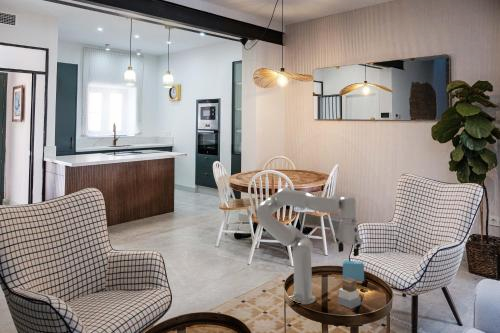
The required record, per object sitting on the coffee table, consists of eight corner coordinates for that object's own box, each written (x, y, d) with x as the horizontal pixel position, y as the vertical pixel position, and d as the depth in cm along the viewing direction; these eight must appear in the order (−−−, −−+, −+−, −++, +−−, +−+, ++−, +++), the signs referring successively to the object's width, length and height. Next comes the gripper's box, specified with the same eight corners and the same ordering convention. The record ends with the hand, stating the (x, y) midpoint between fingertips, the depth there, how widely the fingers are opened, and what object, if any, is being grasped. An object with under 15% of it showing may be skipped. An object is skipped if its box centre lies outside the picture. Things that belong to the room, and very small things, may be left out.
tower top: (349, 300, 189) (349, 293, 188) (339, 296, 194) (339, 289, 194) (358, 297, 192) (358, 289, 192) (348, 293, 198) (348, 285, 198)
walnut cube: (350, 292, 189) (350, 282, 189) (342, 289, 193) (342, 280, 193) (356, 289, 192) (356, 280, 192) (348, 286, 196) (348, 277, 196)
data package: (363, 281, 224) (363, 261, 223) (364, 284, 219) (363, 264, 218) (343, 280, 227) (342, 260, 226) (343, 282, 222) (342, 263, 222)
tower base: (351, 309, 188) (350, 301, 188) (338, 304, 194) (338, 296, 194) (360, 304, 193) (360, 297, 192) (348, 300, 199) (348, 292, 199)
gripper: (366, 222, 186) (367, 256, 187) (339, 217, 200) (340, 248, 201) (357, 224, 182) (357, 259, 183) (330, 219, 196) (330, 251, 197)
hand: (348, 253), depth 192 cm, fingers open, 9 cm apart
